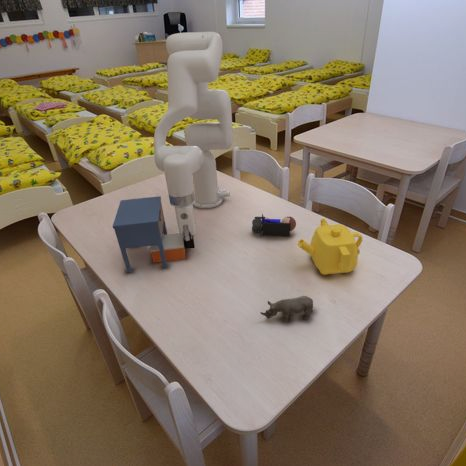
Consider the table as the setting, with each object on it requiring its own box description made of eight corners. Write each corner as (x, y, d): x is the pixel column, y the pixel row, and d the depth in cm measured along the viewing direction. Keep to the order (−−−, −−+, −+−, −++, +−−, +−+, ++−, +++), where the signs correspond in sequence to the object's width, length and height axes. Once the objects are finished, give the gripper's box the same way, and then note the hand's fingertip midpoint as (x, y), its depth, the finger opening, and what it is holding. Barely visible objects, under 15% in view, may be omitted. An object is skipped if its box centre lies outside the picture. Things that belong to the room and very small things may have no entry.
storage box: (185, 244, 113) (183, 232, 110) (185, 259, 107) (183, 246, 104) (154, 248, 112) (151, 236, 109) (153, 263, 106) (149, 250, 103)
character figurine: (252, 228, 120) (295, 231, 118) (250, 239, 114) (295, 241, 111) (252, 209, 116) (296, 210, 114) (250, 218, 110) (296, 220, 108)
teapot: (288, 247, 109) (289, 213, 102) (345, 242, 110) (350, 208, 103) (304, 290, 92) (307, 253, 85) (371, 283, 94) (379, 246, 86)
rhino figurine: (258, 314, 86) (258, 297, 83) (311, 307, 87) (312, 290, 84) (261, 326, 83) (261, 309, 79) (316, 319, 84) (318, 302, 80)
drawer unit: (169, 240, 116) (160, 196, 106) (167, 268, 103) (157, 221, 94) (132, 244, 115) (120, 200, 105) (126, 273, 102) (112, 226, 92)
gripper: (195, 207, 93) (202, 259, 103) (193, 184, 105) (200, 233, 116) (168, 210, 92) (178, 263, 102) (169, 187, 105) (178, 236, 115)
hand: (189, 247), depth 109 cm, fingers closed
